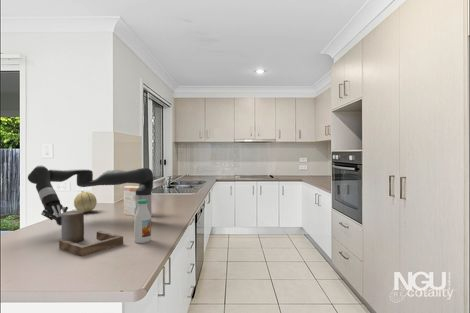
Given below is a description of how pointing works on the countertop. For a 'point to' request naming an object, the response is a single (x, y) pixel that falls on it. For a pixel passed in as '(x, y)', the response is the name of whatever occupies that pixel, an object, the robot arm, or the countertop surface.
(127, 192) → the coffeecake box
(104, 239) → the display frame
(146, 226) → the milk bottle
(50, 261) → the countertop surface
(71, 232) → the pillar candle
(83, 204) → the cantaloupe
